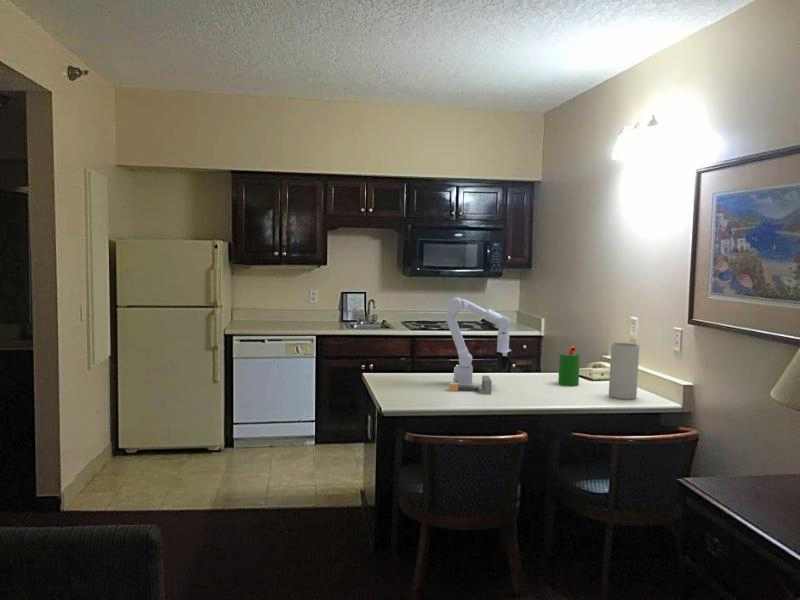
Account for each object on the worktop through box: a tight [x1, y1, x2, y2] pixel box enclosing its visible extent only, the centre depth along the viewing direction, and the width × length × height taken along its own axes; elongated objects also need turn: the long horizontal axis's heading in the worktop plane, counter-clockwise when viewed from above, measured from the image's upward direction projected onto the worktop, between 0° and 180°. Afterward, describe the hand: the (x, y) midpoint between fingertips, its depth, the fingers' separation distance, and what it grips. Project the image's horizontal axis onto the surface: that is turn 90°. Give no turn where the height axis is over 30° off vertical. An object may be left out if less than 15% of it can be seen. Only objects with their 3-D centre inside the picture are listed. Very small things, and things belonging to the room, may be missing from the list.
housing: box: [481, 375, 493, 395], centre depth 316 cm, size 3×12×6 cm, turn 0°
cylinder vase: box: [608, 342, 640, 400], centre depth 310 cm, size 12×12×25 cm
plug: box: [448, 382, 480, 393], centre depth 316 cm, size 14×4×4 cm, turn 90°
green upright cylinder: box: [557, 346, 581, 387], centre depth 336 cm, size 10×9×20 cm
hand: (502, 367), depth 327 cm, fingers open, 7 cm apart
